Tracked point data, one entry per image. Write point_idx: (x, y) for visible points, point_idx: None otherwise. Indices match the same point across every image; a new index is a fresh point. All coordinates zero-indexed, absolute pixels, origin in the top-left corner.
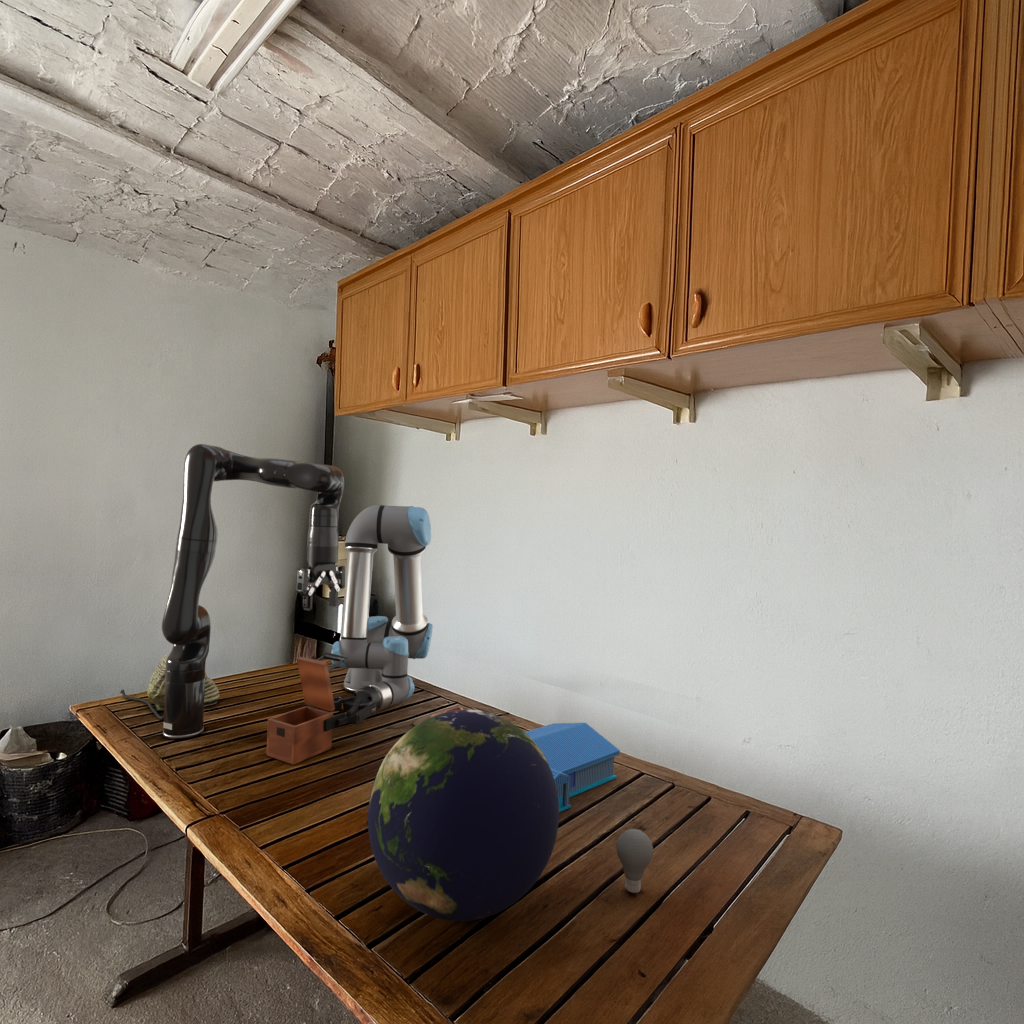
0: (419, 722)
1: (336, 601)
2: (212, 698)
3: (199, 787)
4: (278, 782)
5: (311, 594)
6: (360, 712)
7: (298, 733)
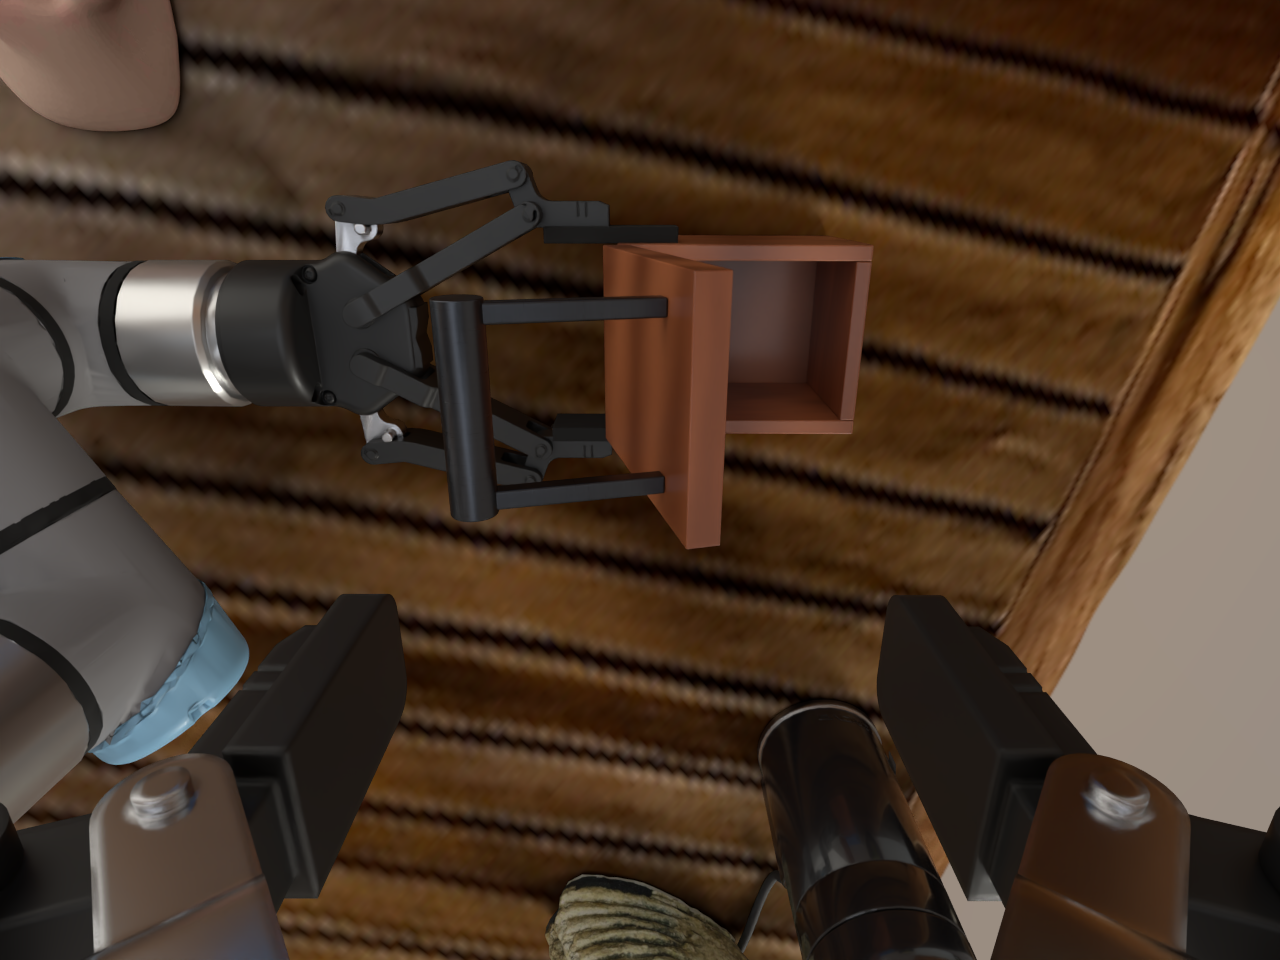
0: (151, 70)
1: (328, 629)
2: (589, 895)
3: (1121, 357)
4: (976, 154)
5: (1058, 771)
6: (474, 177)
7: (839, 242)
